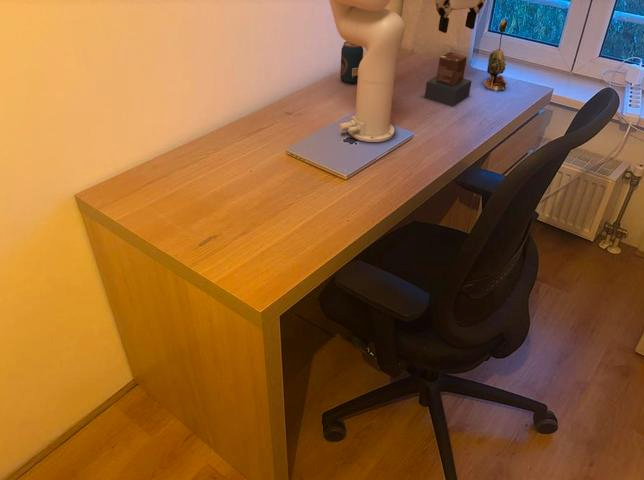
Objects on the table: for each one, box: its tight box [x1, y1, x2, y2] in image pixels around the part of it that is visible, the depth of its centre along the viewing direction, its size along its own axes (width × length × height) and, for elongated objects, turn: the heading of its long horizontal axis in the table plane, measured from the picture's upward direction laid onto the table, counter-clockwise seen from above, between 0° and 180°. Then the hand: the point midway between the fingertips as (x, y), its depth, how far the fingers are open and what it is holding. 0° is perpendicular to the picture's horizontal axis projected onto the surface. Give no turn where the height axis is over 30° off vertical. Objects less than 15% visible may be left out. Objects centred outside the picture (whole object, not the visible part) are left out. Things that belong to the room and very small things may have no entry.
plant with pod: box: [482, 18, 508, 92], centre depth 167 cm, size 8×11×20 cm
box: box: [436, 51, 468, 86], centre depth 161 cm, size 6×6×7 cm
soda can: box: [339, 40, 364, 86], centre depth 171 cm, size 7×7×12 cm
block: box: [424, 75, 472, 107], centre depth 165 cm, size 10×10×5 cm
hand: (456, 29), depth 154 cm, fingers open, 9 cm apart
